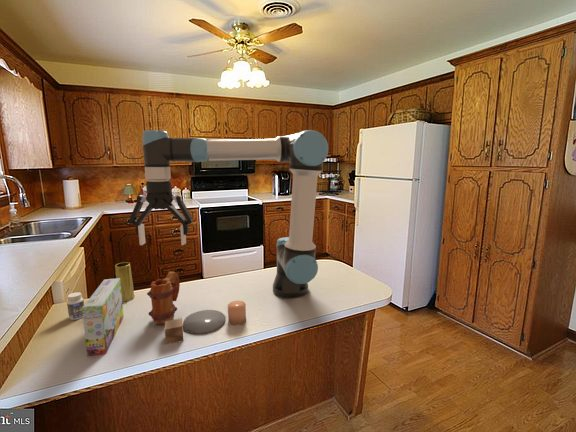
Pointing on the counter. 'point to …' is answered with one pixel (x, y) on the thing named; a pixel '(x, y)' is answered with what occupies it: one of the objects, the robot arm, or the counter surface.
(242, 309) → the peach rounded cylinder
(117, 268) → the vase
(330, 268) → the counter surface
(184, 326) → the gray ellipsoid
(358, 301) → the counter surface
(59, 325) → the counter surface
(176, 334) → the walnut block
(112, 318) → the snack box
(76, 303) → the pill bottle
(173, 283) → the mug
